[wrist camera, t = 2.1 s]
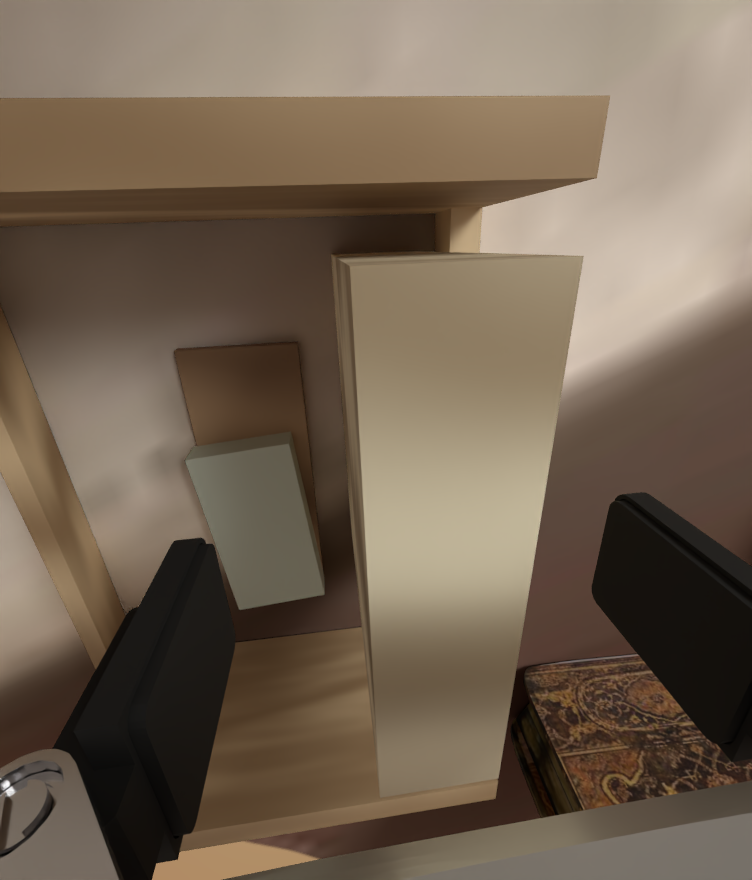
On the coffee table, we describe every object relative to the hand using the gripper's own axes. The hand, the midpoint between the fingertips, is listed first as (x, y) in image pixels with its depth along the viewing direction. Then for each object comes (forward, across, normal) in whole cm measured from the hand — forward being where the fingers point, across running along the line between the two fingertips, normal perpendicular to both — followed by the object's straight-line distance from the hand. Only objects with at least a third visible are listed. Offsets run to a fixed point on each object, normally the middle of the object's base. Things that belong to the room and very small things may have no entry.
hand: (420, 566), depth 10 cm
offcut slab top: (+9, +5, +4) cm, 11 cm away
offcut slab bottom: (+10, +5, +2) cm, 11 cm away
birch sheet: (+9, 0, -1) cm, 9 cm away
